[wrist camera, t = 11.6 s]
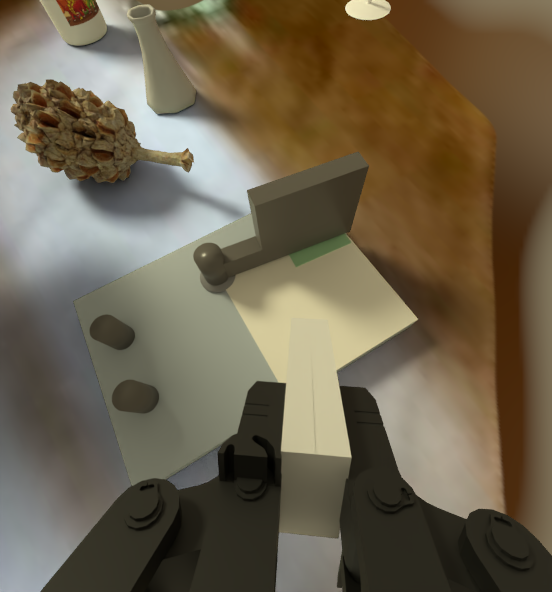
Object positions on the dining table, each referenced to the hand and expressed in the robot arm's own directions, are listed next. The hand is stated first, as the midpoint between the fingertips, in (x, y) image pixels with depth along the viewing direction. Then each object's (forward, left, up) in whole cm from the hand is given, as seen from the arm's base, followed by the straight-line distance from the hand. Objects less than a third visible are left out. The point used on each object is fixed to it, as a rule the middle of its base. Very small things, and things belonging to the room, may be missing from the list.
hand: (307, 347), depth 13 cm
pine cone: (-4, +33, -15) cm, 36 cm away
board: (-1, +9, -14) cm, 17 cm away
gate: (+5, +12, -12) cm, 17 cm away
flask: (+6, +44, -15) cm, 46 cm away
